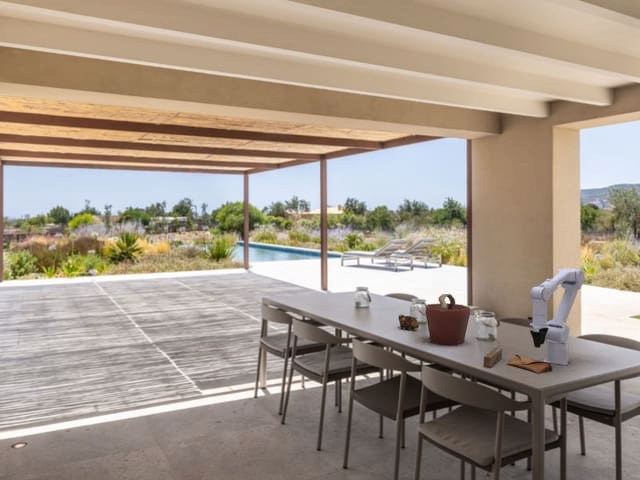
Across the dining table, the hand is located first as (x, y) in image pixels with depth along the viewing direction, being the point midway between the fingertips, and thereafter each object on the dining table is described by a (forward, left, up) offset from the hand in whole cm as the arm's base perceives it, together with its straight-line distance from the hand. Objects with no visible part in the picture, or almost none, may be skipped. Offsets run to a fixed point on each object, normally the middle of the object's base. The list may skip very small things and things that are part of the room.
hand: (539, 345), depth 224 cm
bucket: (+49, -22, -9) cm, 55 cm away
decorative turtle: (+78, -42, -9) cm, 89 cm away
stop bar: (+18, +5, -9) cm, 21 cm away
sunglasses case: (+4, +5, -10) cm, 12 cm away
